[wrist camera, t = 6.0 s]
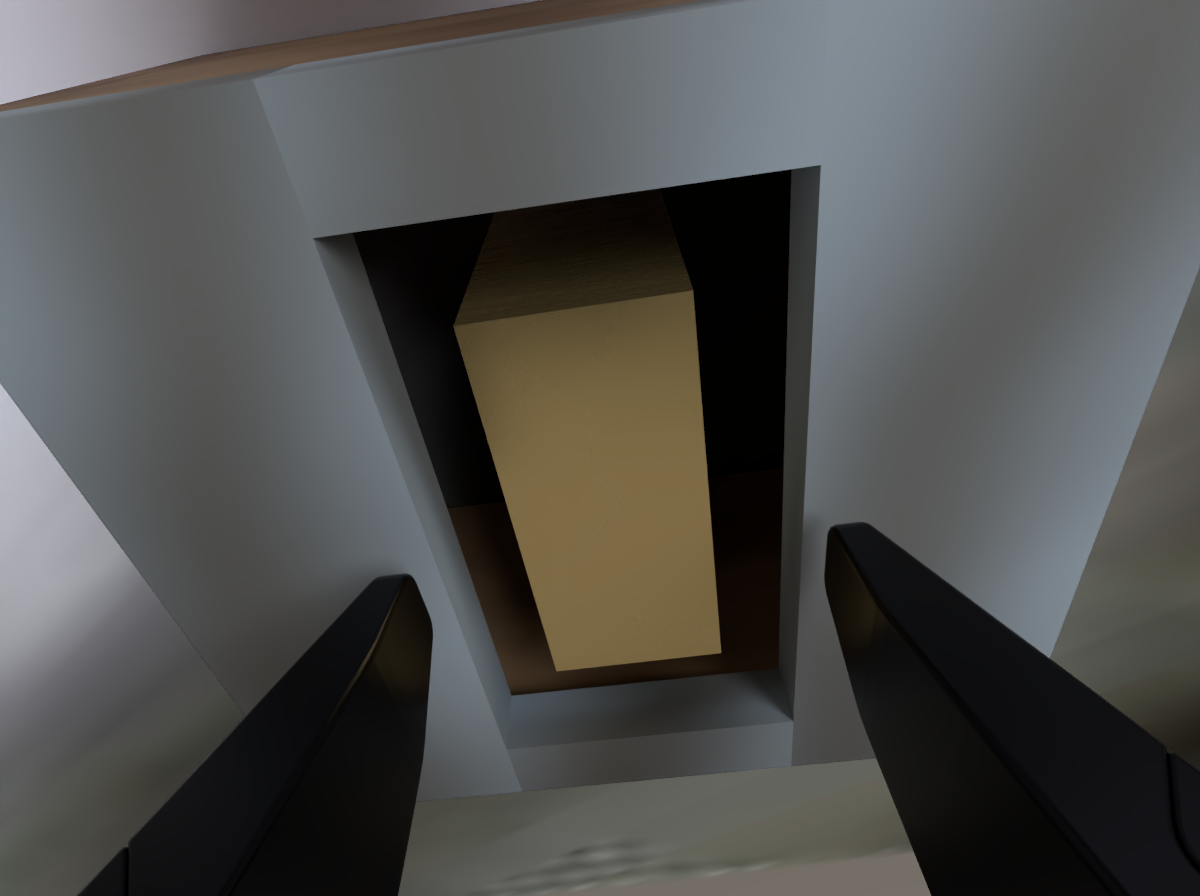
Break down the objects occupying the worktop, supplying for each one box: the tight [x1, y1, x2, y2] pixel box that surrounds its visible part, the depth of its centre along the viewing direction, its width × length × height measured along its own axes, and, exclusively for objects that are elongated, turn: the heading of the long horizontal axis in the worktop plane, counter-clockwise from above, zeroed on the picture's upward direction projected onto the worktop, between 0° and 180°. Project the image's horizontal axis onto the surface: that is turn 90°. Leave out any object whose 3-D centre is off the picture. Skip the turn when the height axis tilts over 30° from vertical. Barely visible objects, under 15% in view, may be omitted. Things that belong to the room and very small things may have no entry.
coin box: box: [0, 0, 1200, 802], centre depth 11 cm, size 12×11×7 cm
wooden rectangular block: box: [453, 188, 721, 671], centre depth 12 cm, size 3×6×6 cm, turn 8°
